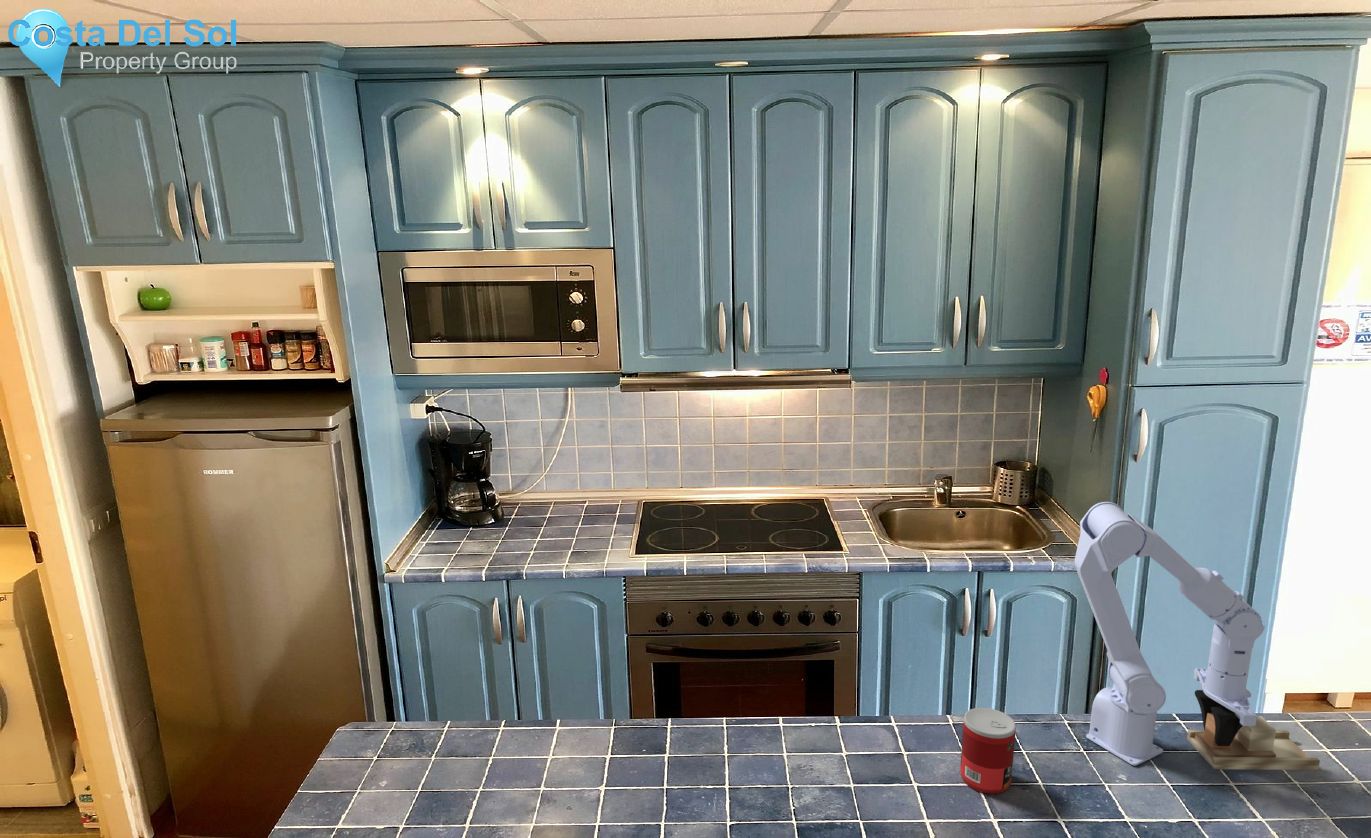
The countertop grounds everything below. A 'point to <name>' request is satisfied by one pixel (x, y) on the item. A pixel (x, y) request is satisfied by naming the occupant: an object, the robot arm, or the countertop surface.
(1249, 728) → the cube
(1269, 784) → the countertop surface
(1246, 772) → the countertop surface
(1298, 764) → the rail bed
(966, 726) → the canned food
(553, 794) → the countertop surface
